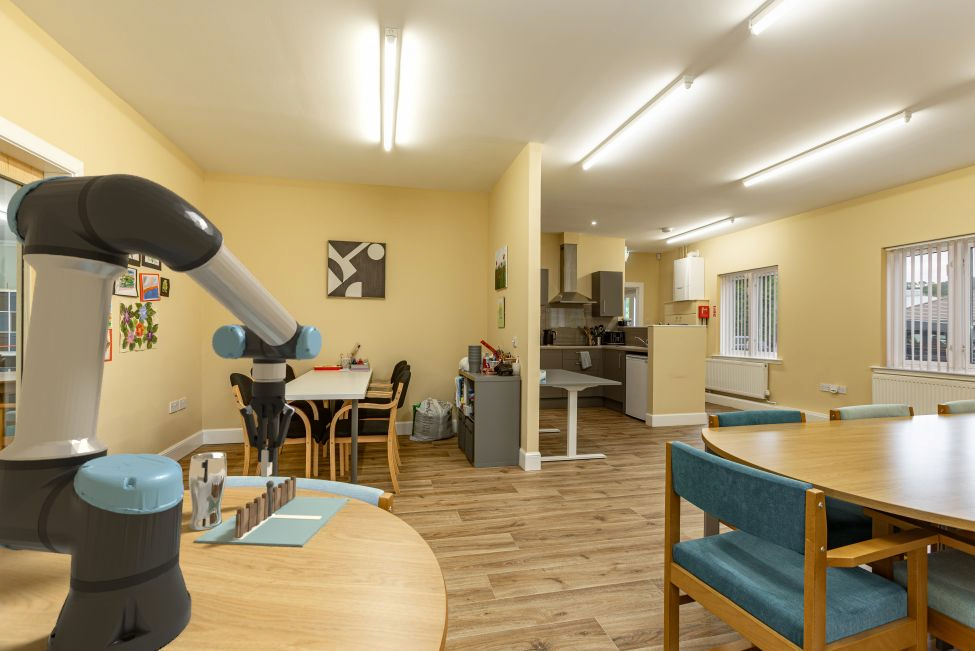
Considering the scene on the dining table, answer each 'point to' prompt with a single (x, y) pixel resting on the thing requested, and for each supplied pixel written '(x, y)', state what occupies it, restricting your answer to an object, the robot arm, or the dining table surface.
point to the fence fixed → (254, 512)
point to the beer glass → (207, 489)
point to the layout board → (281, 524)
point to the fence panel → (283, 493)
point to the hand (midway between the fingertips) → (266, 475)
